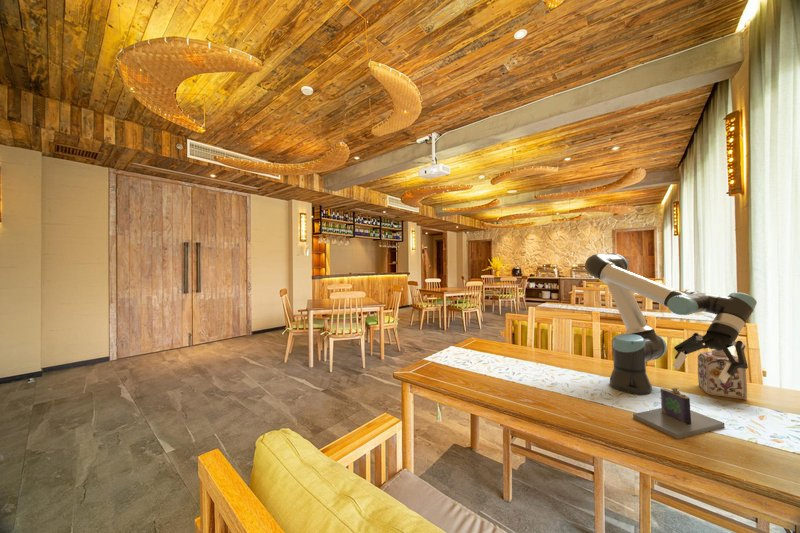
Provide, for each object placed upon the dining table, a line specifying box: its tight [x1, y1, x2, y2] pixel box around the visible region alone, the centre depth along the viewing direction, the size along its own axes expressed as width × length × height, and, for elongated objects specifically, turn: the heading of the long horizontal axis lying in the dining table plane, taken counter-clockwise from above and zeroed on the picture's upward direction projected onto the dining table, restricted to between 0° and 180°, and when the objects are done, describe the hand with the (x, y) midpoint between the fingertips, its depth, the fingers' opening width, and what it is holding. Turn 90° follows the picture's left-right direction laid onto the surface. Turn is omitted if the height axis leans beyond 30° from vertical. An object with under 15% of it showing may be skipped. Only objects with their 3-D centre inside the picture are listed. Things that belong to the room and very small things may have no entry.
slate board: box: [632, 407, 725, 440], centre depth 103 cm, size 14×22×2 cm, turn 105°
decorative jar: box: [697, 349, 748, 401], centre depth 125 cm, size 12×12×18 cm
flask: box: [660, 387, 691, 425], centre depth 104 cm, size 9×3×11 cm, turn 8°
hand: (697, 373), depth 106 cm, fingers open, 13 cm apart
